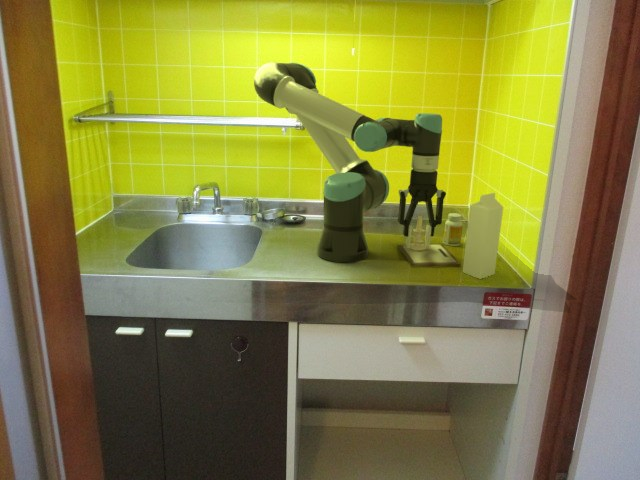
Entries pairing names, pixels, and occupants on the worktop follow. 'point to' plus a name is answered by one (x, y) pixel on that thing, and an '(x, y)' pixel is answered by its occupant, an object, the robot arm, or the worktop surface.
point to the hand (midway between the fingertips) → (417, 246)
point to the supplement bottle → (453, 230)
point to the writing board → (429, 256)
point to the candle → (418, 235)
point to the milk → (483, 237)
